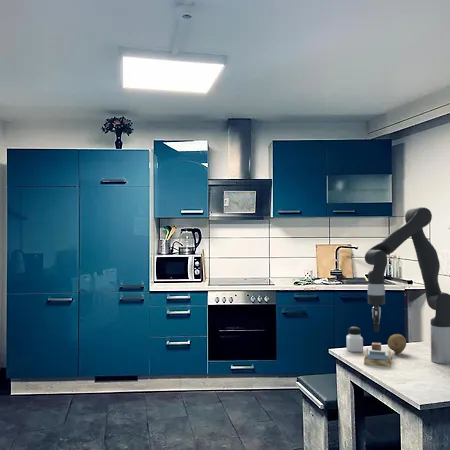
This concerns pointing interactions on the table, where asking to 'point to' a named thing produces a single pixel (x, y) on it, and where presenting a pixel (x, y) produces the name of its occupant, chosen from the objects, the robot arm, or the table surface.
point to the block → (376, 346)
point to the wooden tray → (378, 360)
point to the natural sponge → (397, 343)
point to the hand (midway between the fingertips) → (376, 330)
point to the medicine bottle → (354, 340)
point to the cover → (377, 355)
